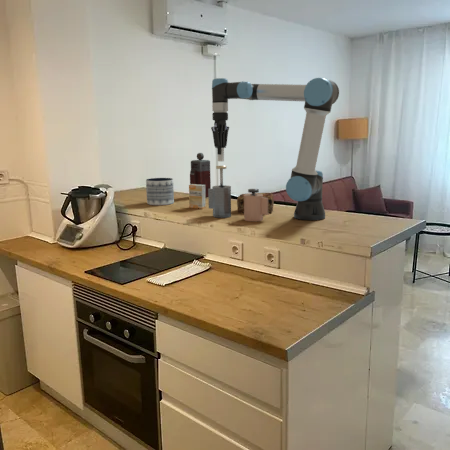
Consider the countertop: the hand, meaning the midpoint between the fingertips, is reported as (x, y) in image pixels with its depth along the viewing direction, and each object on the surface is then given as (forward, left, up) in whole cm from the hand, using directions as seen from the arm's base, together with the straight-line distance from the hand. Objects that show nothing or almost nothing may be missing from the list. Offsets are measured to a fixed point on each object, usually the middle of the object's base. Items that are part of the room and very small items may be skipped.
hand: (220, 161), depth 229 cm
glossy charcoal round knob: (0, +18, -25) cm, 31 cm away
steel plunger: (0, 0, -15) cm, 15 cm away
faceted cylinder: (0, -1, -28) cm, 28 cm away
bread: (-20, +9, -28) cm, 35 cm away
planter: (-17, -54, -28) cm, 63 cm away
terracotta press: (0, +20, -28) cm, 34 cm away
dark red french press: (-48, -47, -28) cm, 73 cm away
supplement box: (-14, -25, -28) cm, 40 cm away
